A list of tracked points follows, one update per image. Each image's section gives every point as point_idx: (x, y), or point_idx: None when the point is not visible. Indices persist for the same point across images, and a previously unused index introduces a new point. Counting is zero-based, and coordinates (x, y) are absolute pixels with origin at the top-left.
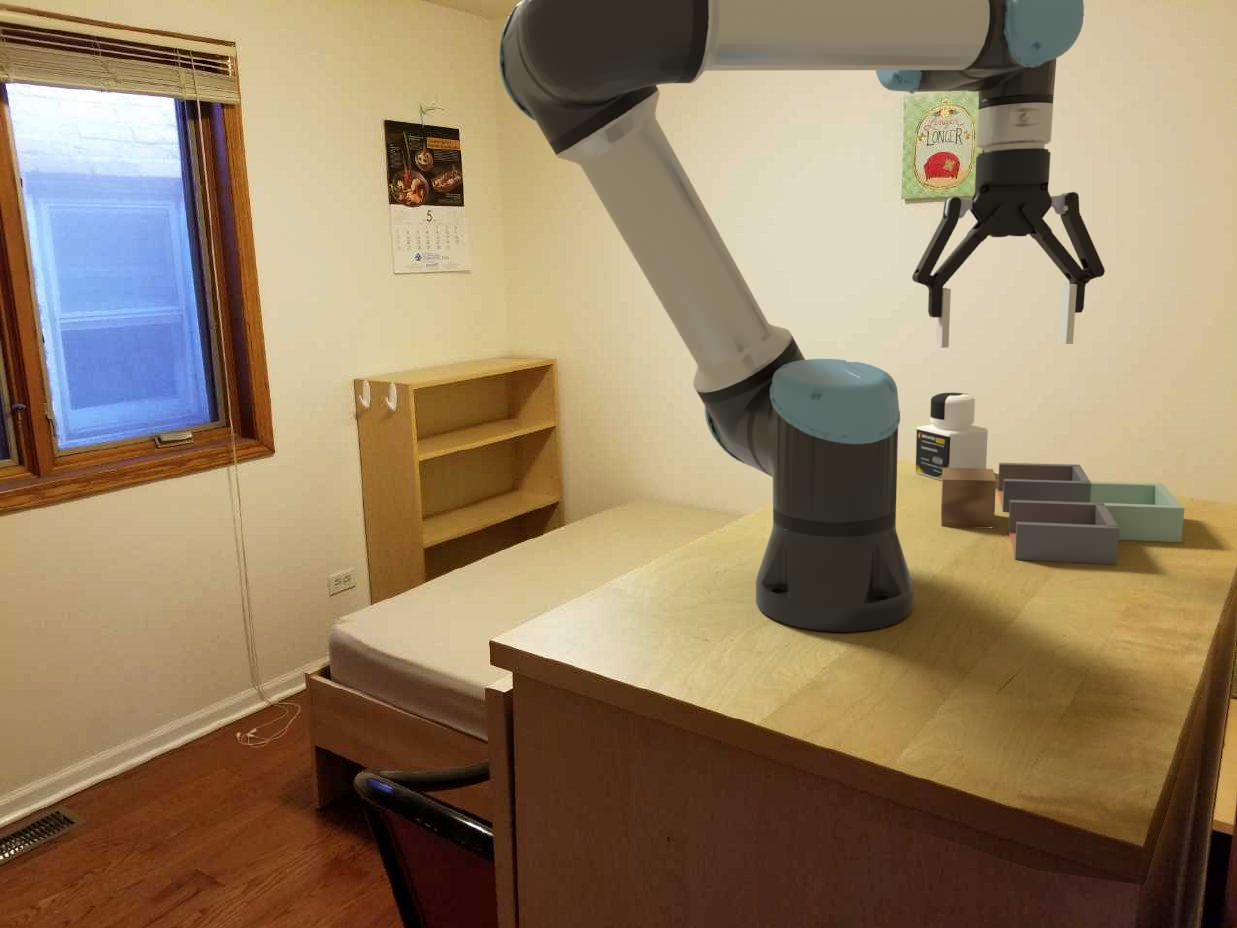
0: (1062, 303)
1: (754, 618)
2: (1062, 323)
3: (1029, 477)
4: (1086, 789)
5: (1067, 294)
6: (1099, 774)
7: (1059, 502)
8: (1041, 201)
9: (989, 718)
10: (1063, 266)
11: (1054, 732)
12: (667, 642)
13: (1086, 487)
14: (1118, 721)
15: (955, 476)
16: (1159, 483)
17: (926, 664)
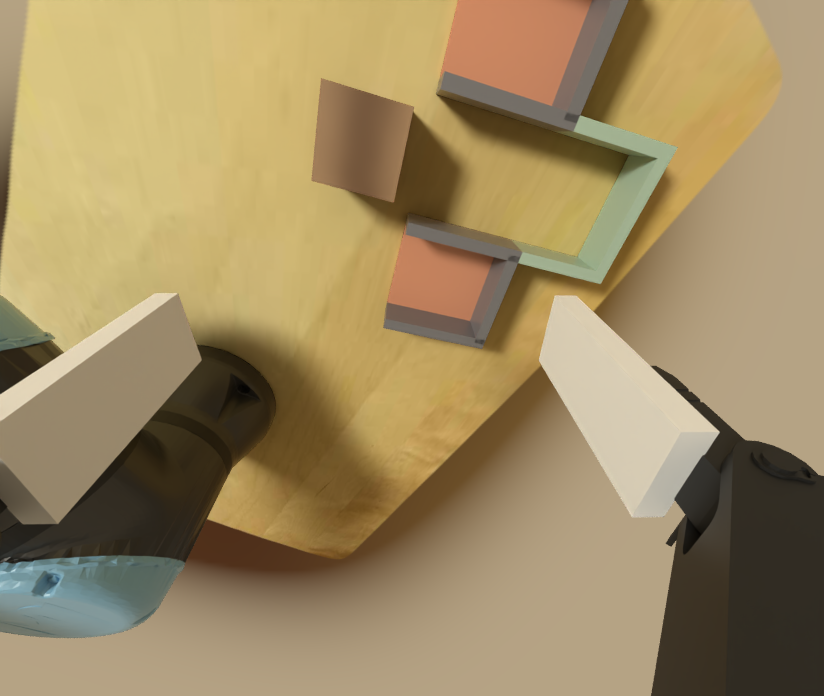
0: (609, 396)
1: None
2: (570, 361)
3: None
4: (334, 545)
5: (615, 464)
6: (342, 540)
7: (468, 243)
8: None
9: (307, 512)
10: (673, 607)
11: (333, 520)
12: None
13: (563, 129)
14: (365, 514)
15: (335, 162)
16: (673, 147)
17: (281, 473)
